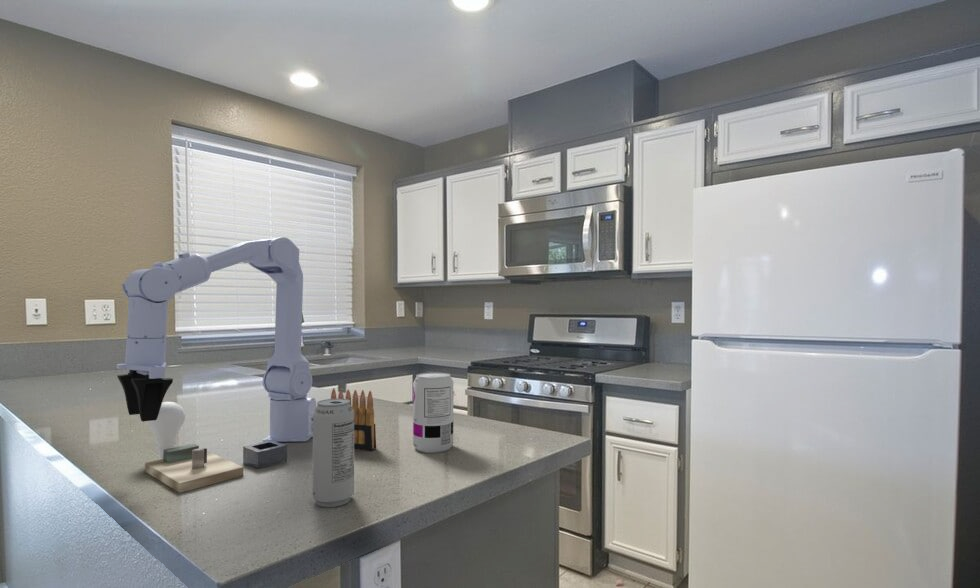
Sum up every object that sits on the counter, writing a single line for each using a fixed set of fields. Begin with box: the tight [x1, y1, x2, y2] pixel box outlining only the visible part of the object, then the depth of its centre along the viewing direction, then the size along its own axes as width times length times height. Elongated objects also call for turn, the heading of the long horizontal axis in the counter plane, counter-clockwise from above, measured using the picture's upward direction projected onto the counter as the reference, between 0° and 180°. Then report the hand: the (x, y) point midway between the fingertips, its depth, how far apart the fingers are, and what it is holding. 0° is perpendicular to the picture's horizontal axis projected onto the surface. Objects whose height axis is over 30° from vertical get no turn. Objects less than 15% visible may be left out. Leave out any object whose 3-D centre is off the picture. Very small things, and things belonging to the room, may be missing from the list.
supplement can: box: [412, 372, 454, 454], centre depth 104 cm, size 8×8×15 cm
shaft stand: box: [144, 443, 244, 494], centre depth 89 cm, size 16×10×4 cm, turn 51°
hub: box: [242, 440, 288, 470], centre depth 95 cm, size 6×6×3 cm
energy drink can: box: [312, 398, 355, 508], centre depth 77 cm, size 6×6×15 cm
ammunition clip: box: [330, 388, 377, 452], centre depth 105 cm, size 11×2×12 cm, turn 71°
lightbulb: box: [146, 401, 186, 459], centre depth 97 cm, size 6×6×11 cm
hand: (142, 417), depth 87 cm, fingers open, 7 cm apart
